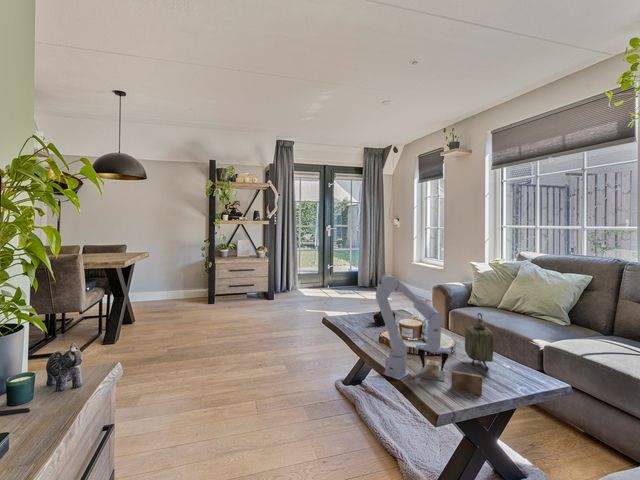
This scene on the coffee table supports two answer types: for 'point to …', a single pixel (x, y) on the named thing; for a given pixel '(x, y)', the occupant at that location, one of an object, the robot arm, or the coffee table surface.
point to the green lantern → (479, 342)
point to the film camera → (380, 319)
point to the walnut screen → (466, 382)
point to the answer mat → (439, 378)
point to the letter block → (432, 368)
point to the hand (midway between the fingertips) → (432, 368)
